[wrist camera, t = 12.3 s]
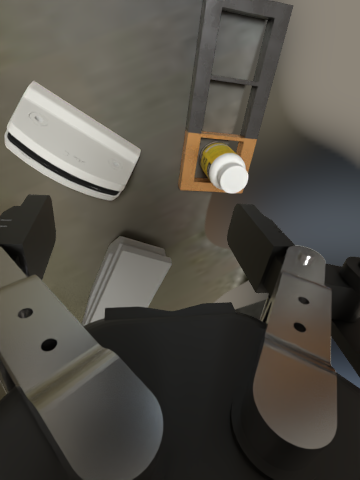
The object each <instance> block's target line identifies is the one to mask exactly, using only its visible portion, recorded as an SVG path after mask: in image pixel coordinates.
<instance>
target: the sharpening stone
mask: <svg viewBox="0 0 360 480" xmlns="http://www.w3.org/2000/svg"><path fill="white" fill-rule="evenodd" d="M171 265H172V262H171V258H170V257H166V254H165V250H164V249H163V248H160V247H156V246H153V245H149V244H146V243H142V242H139V241H136V240H132V239H129V238H125V237H122V236H119V237H118V238H117V239H116V240H114V241H113V242H112V243H111V244H110V245H109V247H108V250H107V252H106V255H105V257H104V260H103V262H102V264H101V267H100V269H99V272H98V274H97V277H96V279H95V281H94V284H93V286H92V289H91V292H90V296H89V300H88V303H87V307H86V311H85V314H84V318H83V322H82V326H85V325H87V324H89V323H91V322H94V321H97V320H100V319H103V318H104V317H105V308H114V307H137V306H139V307H146V308H147V307H148V306H149V304H150V302H151V300H152V299H153V297H154V295H155V293H156V291H157V290H158V288H159V286H160V284H161V283H162V281H163V279H164V277H165V275H166V274H167V272H168V270H169V268H170V267H171Z"/></svg>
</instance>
